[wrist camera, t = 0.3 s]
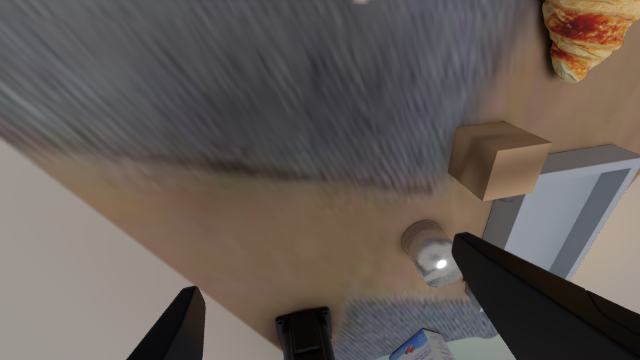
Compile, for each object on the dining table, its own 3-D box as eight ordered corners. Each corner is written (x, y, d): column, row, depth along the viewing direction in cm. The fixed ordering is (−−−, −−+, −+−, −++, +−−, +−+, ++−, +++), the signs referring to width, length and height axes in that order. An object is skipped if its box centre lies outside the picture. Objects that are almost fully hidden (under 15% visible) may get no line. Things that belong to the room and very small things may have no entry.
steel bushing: (435, 246, 32) (463, 282, 28) (399, 253, 31) (421, 290, 27) (442, 216, 30) (472, 250, 25) (403, 223, 29) (427, 259, 25)
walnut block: (489, 164, 27) (532, 192, 23) (447, 171, 27) (482, 201, 22) (502, 120, 25) (552, 142, 21) (456, 127, 24) (497, 150, 20)
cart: (549, 273, 39) (569, 291, 37) (458, 293, 37) (472, 313, 35) (620, 143, 29) (655, 155, 26) (498, 162, 27) (522, 177, 24)
